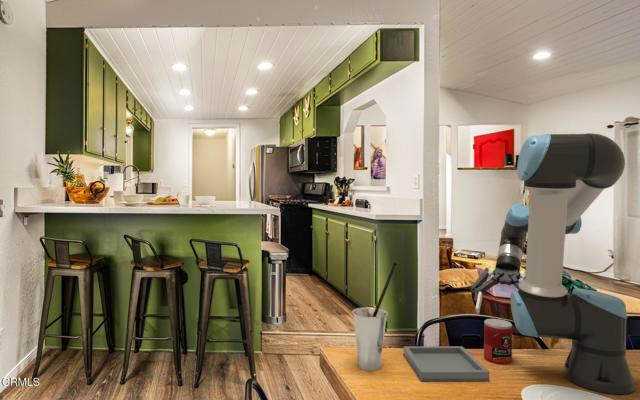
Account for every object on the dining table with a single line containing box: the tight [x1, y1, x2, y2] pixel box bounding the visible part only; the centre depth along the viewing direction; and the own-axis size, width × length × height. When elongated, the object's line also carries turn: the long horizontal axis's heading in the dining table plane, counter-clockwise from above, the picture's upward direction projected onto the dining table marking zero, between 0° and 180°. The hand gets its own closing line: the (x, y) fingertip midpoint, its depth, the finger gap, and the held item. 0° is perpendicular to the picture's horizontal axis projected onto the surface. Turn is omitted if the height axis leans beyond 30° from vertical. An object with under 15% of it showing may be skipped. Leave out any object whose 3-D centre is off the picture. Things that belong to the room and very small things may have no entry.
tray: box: [403, 345, 490, 383], centre depth 113 cm, size 18×18×2 cm
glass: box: [351, 262, 397, 372], centre depth 112 cm, size 11×11×30 cm
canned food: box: [483, 318, 513, 365], centre depth 119 cm, size 8×8×11 cm
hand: (500, 314), depth 125 cm, fingers open, 13 cm apart
